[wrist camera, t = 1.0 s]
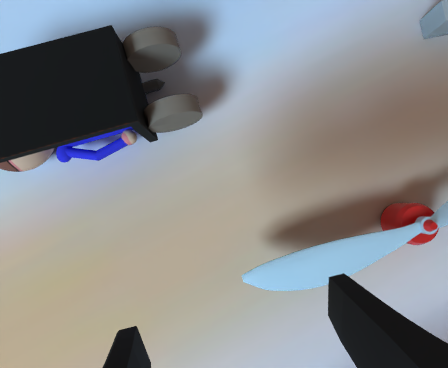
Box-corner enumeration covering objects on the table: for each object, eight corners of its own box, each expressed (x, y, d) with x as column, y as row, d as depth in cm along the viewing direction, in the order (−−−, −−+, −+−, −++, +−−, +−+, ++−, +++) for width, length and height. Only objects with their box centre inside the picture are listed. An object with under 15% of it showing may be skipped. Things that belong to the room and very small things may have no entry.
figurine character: (177, 61, 26) (-12, 110, 25) (171, 0, 19) (-103, 64, 17) (202, 137, 26) (12, 193, 24) (206, 108, 18) (-70, 185, 17)
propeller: (565, 204, 24) (635, 205, 20) (247, 293, 24) (252, 312, 20) (547, 150, 24) (613, 140, 20) (232, 239, 24) (233, 247, 20)
